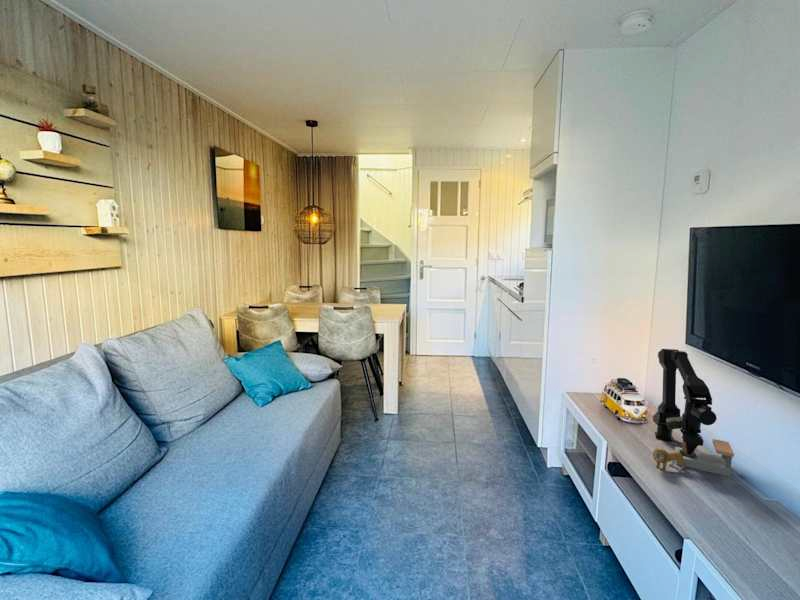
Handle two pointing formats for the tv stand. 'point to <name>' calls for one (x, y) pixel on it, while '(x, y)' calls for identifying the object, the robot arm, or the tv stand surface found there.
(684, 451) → the peg
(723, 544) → the tv stand surface
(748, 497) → the tv stand surface
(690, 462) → the socket block
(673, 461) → the lion figurine
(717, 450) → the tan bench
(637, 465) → the tv stand surface
